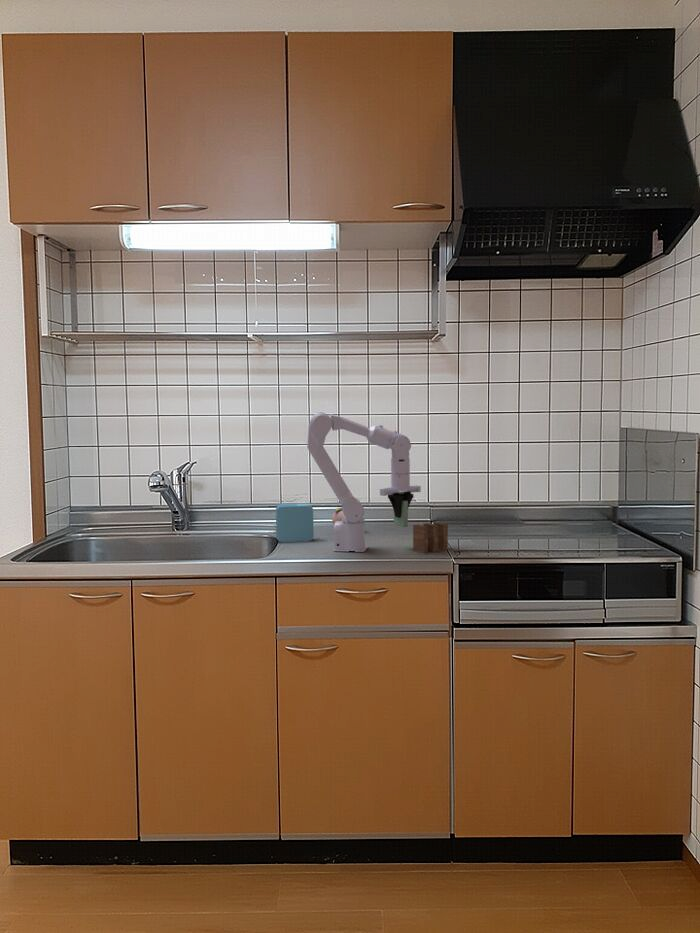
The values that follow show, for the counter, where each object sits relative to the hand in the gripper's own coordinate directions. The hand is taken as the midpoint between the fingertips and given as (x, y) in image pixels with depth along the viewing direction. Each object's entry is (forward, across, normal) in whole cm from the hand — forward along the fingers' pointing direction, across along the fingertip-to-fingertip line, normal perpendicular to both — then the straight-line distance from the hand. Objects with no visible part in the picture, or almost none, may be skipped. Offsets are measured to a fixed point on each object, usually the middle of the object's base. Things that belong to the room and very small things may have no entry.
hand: (400, 516), depth 246 cm
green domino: (+3, 0, 0) cm, 3 cm away
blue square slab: (+10, -20, +32) cm, 39 cm away
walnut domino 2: (+10, +6, -8) cm, 14 cm away
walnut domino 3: (+10, +10, -8) cm, 16 cm away
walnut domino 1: (+10, +2, -8) cm, 13 cm away
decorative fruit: (+10, +2, +33) cm, 34 cm away
